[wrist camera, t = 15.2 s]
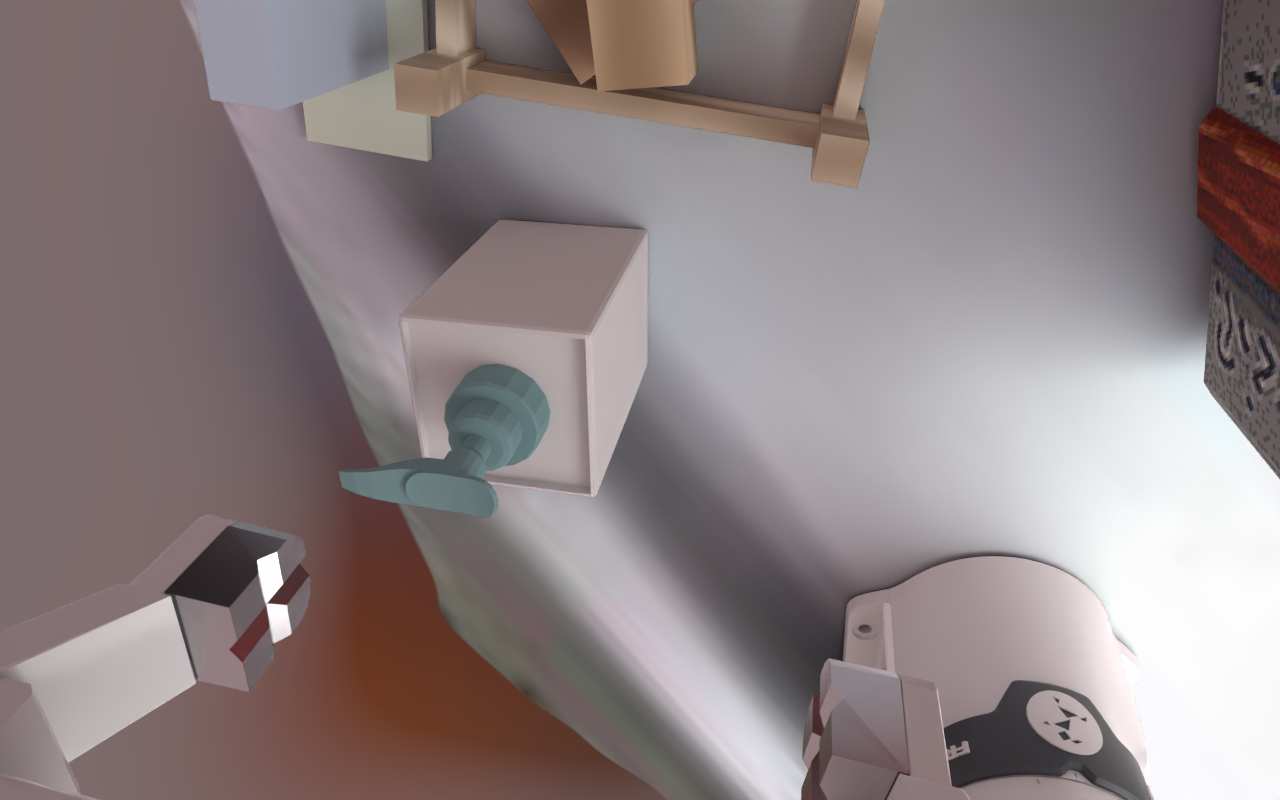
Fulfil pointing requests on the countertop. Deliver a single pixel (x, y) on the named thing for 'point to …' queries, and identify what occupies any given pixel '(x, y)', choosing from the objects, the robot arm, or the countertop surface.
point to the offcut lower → (569, 32)
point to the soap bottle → (520, 366)
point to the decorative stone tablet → (1245, 224)
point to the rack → (647, 93)
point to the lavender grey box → (289, 48)
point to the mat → (377, 97)
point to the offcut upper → (642, 43)
